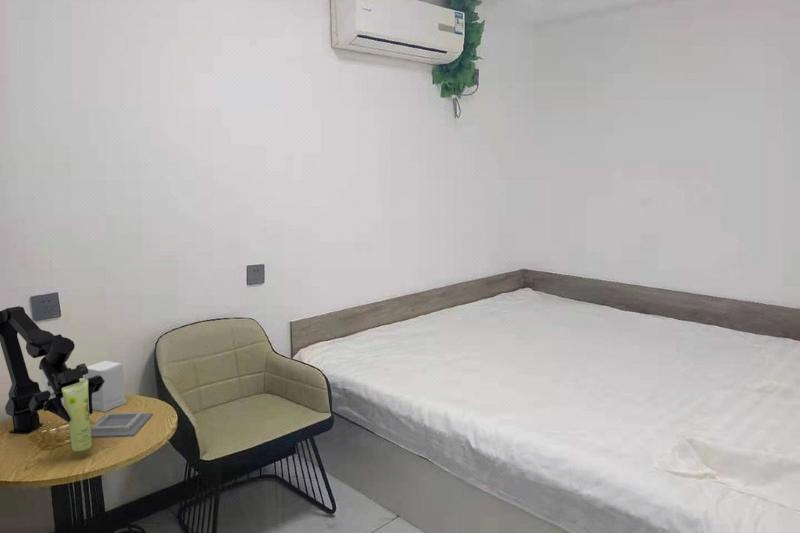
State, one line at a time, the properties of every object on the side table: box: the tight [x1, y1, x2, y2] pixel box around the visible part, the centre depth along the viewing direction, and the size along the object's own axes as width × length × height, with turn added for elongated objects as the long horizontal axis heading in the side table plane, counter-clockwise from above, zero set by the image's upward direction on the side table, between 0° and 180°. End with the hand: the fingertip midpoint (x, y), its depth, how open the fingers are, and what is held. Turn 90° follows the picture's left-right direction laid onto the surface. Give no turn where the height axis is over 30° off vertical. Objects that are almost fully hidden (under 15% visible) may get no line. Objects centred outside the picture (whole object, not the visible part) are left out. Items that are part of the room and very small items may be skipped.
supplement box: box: [83, 360, 127, 413], centre depth 192 cm, size 9×9×15 cm
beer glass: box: [40, 369, 65, 406], centre depth 194 cm, size 7×7×15 cm
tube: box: [62, 379, 92, 452], centre depth 155 cm, size 6×5×20 cm
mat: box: [91, 412, 154, 439], centre depth 177 cm, size 16×16×1 cm
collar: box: [91, 411, 144, 433], centre depth 177 cm, size 11×11×2 cm
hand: (80, 417), depth 155 cm, fingers closed on tube, 6 cm apart
